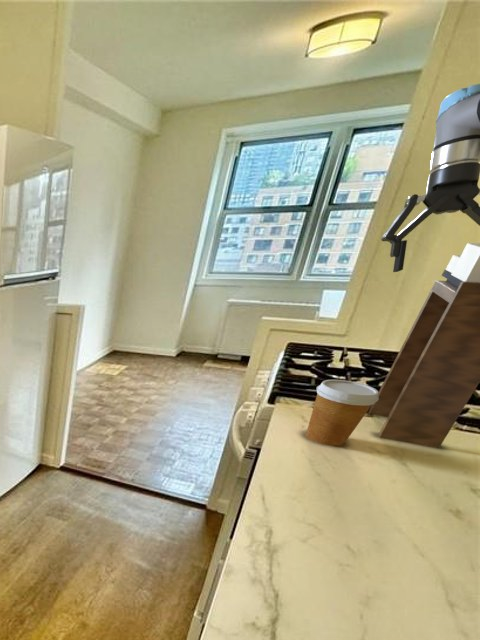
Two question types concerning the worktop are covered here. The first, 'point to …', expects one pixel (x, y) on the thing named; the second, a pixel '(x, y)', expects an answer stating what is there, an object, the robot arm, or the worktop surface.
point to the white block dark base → (464, 266)
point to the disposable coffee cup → (339, 410)
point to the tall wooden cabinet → (433, 368)
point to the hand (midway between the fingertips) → (439, 267)
